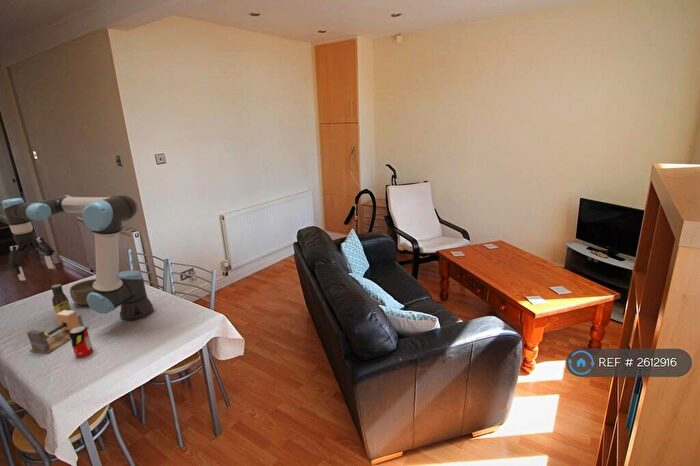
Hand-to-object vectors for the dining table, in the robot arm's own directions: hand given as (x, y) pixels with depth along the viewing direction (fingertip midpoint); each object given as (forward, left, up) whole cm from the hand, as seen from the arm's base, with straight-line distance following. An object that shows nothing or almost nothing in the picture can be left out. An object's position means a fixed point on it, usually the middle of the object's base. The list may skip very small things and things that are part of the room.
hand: (37, 273), depth 175 cm
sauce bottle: (-8, 0, -26) cm, 27 cm away
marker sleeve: (-20, +7, -23) cm, 31 cm away
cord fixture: (-20, +13, -26) cm, 35 cm away
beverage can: (-40, +20, -26) cm, 52 cm away
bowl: (-2, -21, -26) cm, 34 cm away
